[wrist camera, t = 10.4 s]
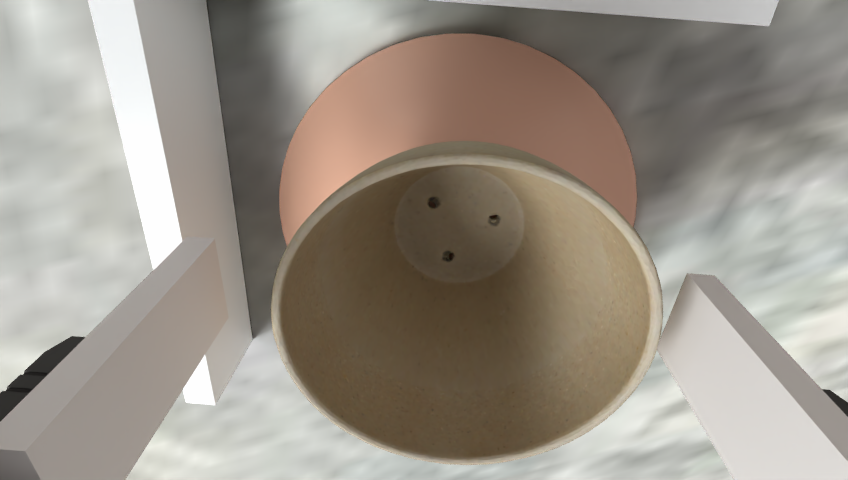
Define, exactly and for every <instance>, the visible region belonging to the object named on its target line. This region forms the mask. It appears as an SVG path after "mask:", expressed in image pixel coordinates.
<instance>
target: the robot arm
mask: <svg viewBox="0 0 848 480" xmlns="http://www.w3.org/2000/svg"><path fill="white" fill-rule="evenodd" d="M228 318H229V316H228V311H227V305H226V299H225V294H224V288H223V282H222V277H221V271H220V265H219V260H218V254H217V248H216V243H215V239H212V238H198V237H186V238H185V239H184V240H183V241H182V242H181V243H180V244H179V245H178V246H177V247H176V248H175V249H174V250H173V251H172V252H171V253H170V254H169V255H168V256H167V257H166V258H165V259H164V260H163V261H162V262H161V263H160V264H159V265H158V266H157V267H156V268H155V269H154V270H153V271H152V272H151V273H150V274H149V275H148V276H147V277H146V278H145V279H144V280H143V281H142V282H141V283H140V284H139V285H138V286H137V287H136V288H135V289H134V290H133V291H132V292H131V293H130V294H129V295H128V296H127V297H126V298H125V299H124V300H123V301H122V302H121V303H120V304H119V305H118V306H117V307H116V308H115V309H114V310H113V311H112V312H111V313H110V314H109V315H108V316H107V317H106V318H105V319H104V320H103V321H102V322H101V323H99V324H98V325H97V326H96V327H95V328H94V329H93V330H92V331H91V332H90V333H89V334H88V335H87V336H86V337H75V336H72V337H70V338H68V339H66V340H65V341H63V342H61V343H60V344H58V345H56V346H54V347H53V348H51V349H49V350H47V351H46V352H44V353H43V354H42V355H41V356H40V357H39V358H38V359H37V360H36V361H35V362H34V363H32V364H31V365H30V366H29V367H28V368H27V369H26V370H25V371H24V374H23V375H20V376H18V377H17V378H16V379H15V380H14V381H13V382H12V383H11V384H10V385H9V386H8V387H7V390H6V391H2V392H1V393H0V480H125V479H126V478H127V476H128V474H129V473H130V471H131V470H132V468H133V467H134V465H135V463H136V462H137V460H138V459H139V457H140V456H141V454H142V453H143V451H144V449H145V448H146V446H147V445H148V443H149V442H150V440H151V438H152V437H153V435H154V434H155V432H156V431H157V429H158V427H159V426H160V424H161V423H162V421H163V420H164V418H165V417H166V415H167V413H168V412H169V410H170V409H171V407H172V406H173V404H174V402H175V401H176V399H177V398H178V396H179V395H180V393H181V391H182V390H183V388H184V387H185V385H186V384H187V382H188V381H189V379H190V377H191V376H192V374H193V373H194V371H195V370H196V368H197V366H198V365H199V363H200V362H201V360H202V359H203V357H204V355H205V354H206V352H207V351H208V349H209V348H210V346H211V345H212V343H213V341H214V340H215V338H216V337H217V335H218V334H219V332H220V330H221V329H222V327H223V326H224V324H225V323H226V321H227V319H228ZM657 351H658V353H659V354H660V356H661V358H662V359H663V361H664V363H665V364H666V366H667V368H668V369H669V371H670V373H671V375H672V376H673V378H674V380H675V381H676V383H677V385H678V386H679V388H680V390H681V391H682V393H683V395H684V397H685V398H686V400H687V402H688V403H689V405H690V407H691V408H692V410H693V412H694V413H695V415H696V417H697V418H698V420H699V422H700V424H701V425H702V427H703V429H704V430H705V432H706V434H707V435H708V437H709V439H710V440H711V442H712V444H713V445H714V447H715V449H716V451H717V452H718V454H719V456H720V457H721V459H722V461H723V462H724V464H725V466H726V467H727V469H728V471H729V473H730V474H731V476H732V478H733V479H734V480H848V402H846V401H845V400H843V399H842V398H840V397H839V396H838V395H836V394H835V393H833V392H832V391H830V390H824V389H821V388H820V387H819V386H818V385H817V384H816V383H815V382H814V381H813V379H812V378H811V377H810V376H809V375H808V374H807V373H806V372H805V371H804V370H803V369H802V368H801V367H800V366H799V365H798V364H797V363H796V361H795V360H794V359H793V358H792V357H791V356H790V355H789V354H788V353H787V352H786V351H785V350H784V349H783V348H782V347H781V346H780V344H779V343H778V342H777V341H776V340H775V339H774V338H773V337H772V336H771V335H770V334H769V333H768V332H767V331H766V330H765V329H764V327H763V326H762V325H761V324H760V323H759V322H758V321H757V320H756V319H755V318H754V317H753V316H752V315H751V314H750V313H749V312H748V311H747V309H746V308H745V307H744V306H743V305H742V304H741V303H740V302H739V301H738V300H737V299H736V298H735V297H734V296H733V295H732V294H731V292H730V291H729V290H728V289H727V288H726V287H725V286H724V285H723V284H722V283H721V282H720V281H719V280H718V279H717V278H716V277H715V275H701V274H688V273H687V275H686V277H685V280H684V282H683V285H682V287H681V289H680V292H679V294H678V297H677V299H676V302H675V304H674V306H673V309H672V311H671V314H670V316H669V319H668V321H667V324H666V326H665V328H664V331H663V333H662V336H661V338H660V341H659V343H658V346H657Z"/></svg>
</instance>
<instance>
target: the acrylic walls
mask: <svg viewBox="0 0 848 480" xmlns="http://www.w3.org/2000/svg"><path fill="white" fill-rule="evenodd" d="M429 1H442V2H456V3H469V4H482V5H495V6H508V7H522V8H535V9H548V10H561V11H574V12H588V13H601V14H614V15H627V16H640V17H654V18H667V19H680V20H693V21H706V22H720V23H733V24H746V25H759V26H769V25H770V23H771V20H772V18H773V15H774V12H775V10H776V7H777V4H778V2H779V0H429ZM88 3H89V7H90V11H91V15H92V19H93V24H94V28H95V32H96V36H97V40H98V44H99V48H100V52H101V56H102V61H103V65H104V69H105V73H106V77H107V81H108V85H109V89H110V93H111V97H112V102H113V106H114V110H115V114H116V118H117V122H118V126H119V130H120V134H121V139H122V143H123V147H124V151H125V155H126V159H127V163H128V167H129V171H130V176H131V180H132V184H133V188H134V192H135V196H136V200H137V204H138V208H139V212H140V217H141V221H142V225H143V229H144V233H145V237H146V241H147V245H148V249H149V254H150V258H151V262H152V266H153V270H154V269H155V268H156V267H157V266H158V265H159V264H160V263H161V262H162V261H163V260H164V259H165V258H166V257H167V256H168V255H169V254H170V253H171V252H172V251H173V250H174V249H175V248H176V247H177V246H178V245H179V244H180V243H181V242H182V241H183V240H184V239H185V238H186V237H198V238H212V239H215V243H216V248H217V254H218V260H219V265H220V271H221V277H222V282H223V288H224V294H225V299H226V305H227V311H228V316H229V318H228V319H227V321H226V323H225V324H224V326H223V327H222V329H221V330H220V332H219V334H218V335H217V337H216V338H215V340H214V341H213V343H212V345H211V346H210V348H209V349H208V351H207V352H206V354H205V355H204V357H203V359H202V360H201V362H200V363H199V365H198V366H197V368H196V370H195V371H194V373H193V374H192V376H191V377H190V379H189V381H188V382H187V384H186V385H185V387H184V388H183V393H184V397H185V401H186V403H195V404H207V405H216V403H217V402H218V400H219V398H220V396H221V394H222V393H223V391H224V389H225V387H226V386H227V384H228V382H229V380H230V379H231V377H232V375H233V373H234V372H235V370H236V368H237V366H238V365H239V363H240V361H241V359H242V358H243V356H244V354H245V352H246V351H247V349H248V347H249V345H250V344H251V342H252V340H253V339H252V332H251V325H250V317H249V310H248V303H247V295H246V288H245V281H244V274H243V266H242V259H241V252H240V244H239V237H238V230H237V222H236V215H235V208H234V201H233V193H232V186H231V179H230V171H229V164H228V157H227V149H226V142H225V135H224V128H223V120H222V113H221V106H220V98H219V91H218V84H217V77H216V69H215V62H214V55H213V47H212V40H211V33H210V25H209V18H208V11H207V4H206V0H88Z"/></svg>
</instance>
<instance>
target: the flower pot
mask: <svg viewBox="0 0 848 480" xmlns="http://www.w3.org/2000/svg"><path fill="white" fill-rule="evenodd" d="M429 201H430V202H433V203H434V204H435V208H434V207H431V206H430V205H429V204H428V202H429ZM492 215H497V216H496V217H494V218H490V216H492ZM451 253H453V258H452V259H450V258H449V255H450V254H451ZM271 319H272V328H273V333H274V338H275V341H276V344H277V348H278V351H279V353H280V356H281V359H282V361H283V363H284V365H285V367H286V369H287V371H288V372H289V374H290V376H291V378H292V379H293V381H294V383H295V384H296V385H297V387H298V388H299V390H300V391H301V392H302V393H303V394H304V396H305V397H306V398H307V399H308V400H309V402H310V403H311V404H312V405H313V406H314V407H315V408H316V409H317V410H318V411H319V412H320V413H321V414H322V415H324V416H325V417H326V418H328V419H329V420H330V421H331V422H333V423H334V424H335V425H337V426H338V427H340V428H341V429H343V430H344V431H346V432H347V433H349V434H351V435H353V436H355V437H357V438H358V439H360V440H362V441H364V442H366V443H368V444H371V445H373V446H375V447H378V448H380V449H383V450H386V451H389V452H391V453H395V454H398V455H402V456H405V457H408V458H413V459H418V460H423V461H428V462H435V463H442V464H459V465H477V464H493V463H501V462H507V461H512V460H517V459H522V458H526V457H530V456H534V455H537V454H540V453H543V452H547V451H549V450H552V449H555V448H557V447H560V446H562V445H564V444H566V443H569V442H571V441H573V440H574V439H576V438H578V437H580V436H582V435H584V434H585V433H587V432H589V431H590V430H591V429H593V428H594V427H596V426H598V425H599V424H600V423H602V422H603V421H604V420H606V419H607V418H608V417H609V416H610V415H611V414H613V413H614V412H615V411H616V410H617V409H618V408H619V407H620V406H621V405H622V404H623V403H624V402H625V401H626V400H627V399H628V398H629V397H630V395H631V394H632V393H633V392H634V391H635V389H636V388H637V386H638V385H639V383H640V382H641V381H642V379H643V377H644V376H645V374H646V372H647V370H648V369H649V367H650V365H651V363H652V360H653V358H654V356H655V353H656V350H657V346H658V343H659V339H660V335H661V329H662V320H663V303H662V289H661V285H660V280H659V277H658V274H657V270H656V267H655V265H654V263H653V260H652V258H651V256H650V253H649V251H648V249H647V247H646V245H645V244H644V242H643V241H642V239H641V238H640V236H639V235H638V233H637V232H636V231H635V229H634V228H633V227H632V225H631V224H630V223H629V222H628V221H627V220H626V219H625V217H624V216H623V215H622V214H621V213H620V212H619V211H618V210H617V209H616V208H615V207H614V206H613V205H611V204H610V203H609V202H608V201H607V200H606V199H605V198H603V197H602V196H601V195H600V194H599V193H598V192H596V191H595V190H594V189H592V188H591V187H590V186H588V185H587V184H586V183H584V182H583V181H582V180H580V179H578V178H577V177H575V176H574V175H572V174H571V173H569V172H567V171H566V170H564V169H562V168H560V167H559V166H557V165H555V164H553V163H551V162H549V161H547V160H545V159H542V158H540V157H538V156H535V155H533V154H530V153H528V152H525V151H522V150H519V149H515V148H512V147H508V146H504V145H499V144H494V143H488V142H478V141H449V142H440V143H434V144H429V145H424V146H420V147H416V148H412V149H409V150H407V151H404V152H401V153H398V154H396V155H393V156H391V157H389V158H387V159H384V160H382V161H380V162H378V163H376V164H375V165H373V166H371V167H369V168H368V169H366V170H364V171H363V172H361V173H359V174H358V175H356V176H355V177H353V178H352V179H351V180H349V181H348V182H347V183H345V184H344V185H342V186H341V187H340V188H338V189H337V190H336V191H335V192H334V193H332V194H331V195H330V196H329V197H328V198H327V199H325V200H324V201H323V202H322V203H321V204H320V205H319V206H318V207H317V208H316V210H315V211H314V212H313V213H312V214H311V215H310V216H309V217H308V218H307V219H306V220H305V221H304V223H303V224H302V225H301V226H300V227H299V229H298V230H297V232H296V233H295V235H294V236H293V238H292V239H291V241H290V243H289V244H288V246H287V248H286V250H285V252H284V254H283V256H282V258H281V260H280V263H279V266H278V269H277V272H276V276H275V279H274V284H273V289H272V301H271Z"/></svg>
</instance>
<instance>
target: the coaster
mask: <svg viewBox="0 0 848 480" xmlns="http://www.w3.org/2000/svg"><path fill="white" fill-rule="evenodd" d="M449 141H478V142H488V143H494V144H499V145H504V146H508V147H512V148H515V149H519V150H522V151H525V152H528V153H530V154H533V155H535V156H538V157H540V158H542V159H545V160H547V161H549V162H551V163H553V164H555V165H557V166H559V167H560V168H562V169H564V170H566V171H567V172H569V173H571V174H572V175H574V176H575V177H577V178H578V179H580V180H582V181H583V182H584V183H586V184H587V185H588V186H590V187H591V188H592V189H594V190H595V191H596V192H598V193H599V194H600V195H601V196H602V197H603V198H605V199H606V200H607V201H608V202H609V203H610V204H611V205H613V206H614V207H615V208H616V209H617V210H618V211H619V212H620V213H621V214H622V215H623V216H624V217H625V219H626V220H627V221H628V222H629V223H630V224H631V225H632V227H633V226H634V222H635V215H636V204H637V187H636V174H635V169H634V164H633V160H632V155H631V151H630V149H629V146H628V144H627V141H626V138H625V136H624V133H623V131H622V129H621V127H620V125H619V124H618V122H617V120H616V118H615V117H614V115H613V113H612V111H611V110H610V108H609V107H608V106H607V105H606V103H605V102H604V101H603V100H602V98H601V97H600V96H599V95H598V93H597V92H596V91H595V90H594V89H593V88H592V87H591V86H590V85H589V84H588V83H586V82H585V81H584V80H583V79H582V78H581V77H580V76H579V75H578V74H577V73H576V72H574V71H573V70H571V69H570V68H568V67H567V66H565V65H564V64H562V63H561V62H559V61H558V60H556V59H555V58H553V57H551V56H549V55H547V54H545V53H543V52H541V51H538V50H536V49H534V48H532V47H530V46H528V45H525V44H521V43H518V42H515V41H511V40H508V39H505V38H502V37H495V36H488V35H481V34H475V33H446V34H439V35H432V36H424V37H419V38H415V39H412V40H408V41H405V42H401V43H398V44H394V45H392V46H390V47H388V48H385V49H383V50H381V51H379V52H377V53H374V54H372V55H370V56H368V57H367V58H365V59H364V60H362V61H361V62H359V63H357V64H356V65H354V66H353V67H351V68H349V69H348V70H347V71H345V72H344V73H343V74H342V75H341V76H340V77H338V78H337V79H336V80H335V81H334V82H333V83H331V84H330V85H329V86H328V87H327V88H326V89H325V90H324V91H323V92H322V93H321V95H320V96H319V97H318V98H317V99H316V100H315V102H314V103H313V104H312V105H311V106H310V108H309V109H308V111H307V112H306V114H305V116H304V117H303V119H302V120H301V122H300V123H299V125H298V127H297V129H296V131H295V133H294V135H293V138H292V140H291V142H290V144H289V147H288V150H287V153H286V157H285V160H284V164H283V167H282V173H281V181H280V189H279V208H280V218H281V224H282V231H283V235H284V238H285V241H286V245H287V246H288V244H289V243H290V241H291V239H292V238H293V236H294V235H295V233H296V232H297V230H298V229H299V227H300V226H301V225H302V224H303V223H304V221H305V220H306V219H307V218H308V217H309V216H310V215H311V214H312V213H313V212H314V211H315V210H316V208H317V207H318V206H319V205H320V204H321V203H322V202H323V201H324V200H325V199H327V198H328V197H329V196H330V195H331V194H332V193H334V192H335V191H336V190H337V189H338V188H340V187H341V186H342V185H344V184H345V183H347V182H348V181H349V180H351V179H352V178H353V177H355V176H356V175H358V174H359V173H361V172H363V171H364V170H366V169H368V168H369V167H371V166H373V165H375V164H376V163H378V162H380V161H382V160H384V159H387V158H389V157H391V156H393V155H396V154H398V153H401V152H404V151H407V150H409V149H412V148H416V147H420V146H424V145H429V144H434V143H440V142H449ZM428 204H429V205H430V206H431V207H434V208H435V204H434V203H433V202H430V201H429V202H428ZM496 216H497V215H492V216H490V218H494V217H496ZM449 258H450V259H452V258H453V253H451V254H450V255H449Z"/></svg>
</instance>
